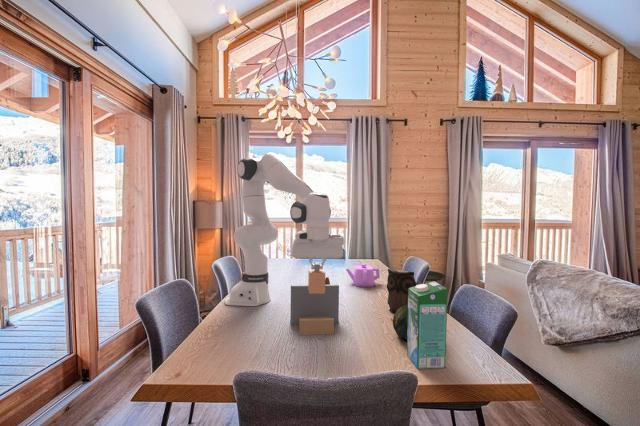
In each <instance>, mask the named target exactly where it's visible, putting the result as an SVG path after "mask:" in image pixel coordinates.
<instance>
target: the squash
mask: <svg viewBox="0 0 640 426" xmlns="http://www.w3.org/2000/svg"><path fill="white" fill-rule="evenodd" d="M392 326H393V327H392V328H393V329H394V331H395V334H396V335H397V336H398V337H399V338H400V339H403V340H404V339H405V340H407V332H408V305H405V306H402V307H401V308H399V309H398V310H397V311H396V313H395V314H394V315H393V317H392Z"/></svg>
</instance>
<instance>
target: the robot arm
mask: <svg viewBox="0 0 640 426" xmlns="http://www.w3.org/2000/svg"><path fill="white" fill-rule="evenodd" d="M236 170H237V174H238V177H239V178H240V179H241V180H242V190H241V191H242V193H241V195H242V197H241V198H242V206H243V207H242V208H243V213H244V215H245V216H247V217H248V218H249V220H250V222H251V224H244V225H241V226H238V227H237V228H236V229H235V231H234V232H233V240H234V243H235V244H236V245H237V246H238V247H239V248H240V249H241V251H242V253H243V255H244V260H245V261H244V262H245V267H244V268H245V269H244V270H245V271H243V272H241V275H240V276H241V277H240V278H241V280H240V281H239V282H238V283H236V284H235V285H234V286H232V288H231V289H230V292H229V296H228V295H227V297H226V298H225V300H224V304H225V306H235V307H236V306H243V307H257V306H259V305H260V306H261V305H264V304H267V303H269V302H270V301H271V295H270V290H269V282H270V280H269V279H270V278H269V276H270V275H269V271H268V265H269V263H268V256H267V255H266V254H264V253H263V250H262V246H263V245H264V246H265V245H268V244H271V243H273V242H276V240H277V239H278V235H279V231H278V228H277V227H276V226H275V224H273V223H272V221H271V220H270V218H269V215H268V213H267V212H268V211H267V207H266V205H267V204H266V197H265V196H266V195H265V188H264V187H265V184H266V183H267V184H269V185H270V186H271V187H272V188H274V189H275V190H277V191H281V192H286V193H290V194H293V195H296V196H297V197H299V198H300V200H296V201H294V202H293V203H292V205H291V207H290V211H289V214H290V218H291V220H292V221H293V222H294V224H298V225H306V229H303V230H300V231H296V232H295V235H294V237H295V239H294V240H293V243H292V247H291V256H292V258H293V259H308V262H309V264H310V267H311V268H310V269H315V264H314V262H312V261H313V259H321V260H322V261H321V263H319V264H320V269H324V265H325V263H326V261H327V259H342V258H343V256H344V251H343V250H344V249H343V246H344V243H345V237H343V236H342V235H341V234H334V233H333V234H330V223H329V221H330V218H331V214H332V210H331V207H330V206H331V205H330V198H329V196H328V195H327V194H324V193H322V192H315V191H314V190H312V188H311V187H310V186H309V185H308V184H307V183H306V182H305V181H303V180H302V179H301V178H300V177H299V176H297V175H296V174H295V173H294V172H293V171H292V170H291V169H290V168H289V166H288V165H287V164H286V163H285V161H283V158H281V157H280V156H279V155H277V154H276V153H274V152H268V153H265V154H263V155H262V157H260V158H258V157H257V158H255V157H253V158H251V157H247V158H246V157H245V158H242V159H240V160H239V162H238V164H237V167H236Z"/></svg>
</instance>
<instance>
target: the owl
mask: <svg viewBox="0 0 640 426" xmlns="http://www.w3.org/2000/svg"><path fill="white" fill-rule="evenodd" d="M387 271H388V272H387V273H388V275H387V284H386V289H387V291H388V295H387V305H388V306H389V310H388V312H389V313H391V314H394V315H395V313H396V311H397V310H398V309H399V308H401V307H402V306H405V305H408V289H409V288H411V287H415V286H416V285H418V284H417V282H416V281H417V280H416V278H415V272H414V271H408V270H401V269H391V268H388V269H387Z"/></svg>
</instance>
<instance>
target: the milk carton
mask: <svg viewBox="0 0 640 426" xmlns="http://www.w3.org/2000/svg"><path fill="white" fill-rule="evenodd" d="M447 318H448V288H447V287H445V286H443V285H442V284H440V283H439V282H436V281H435V280H434V281H430V282H426V283H418V284H417V285H416V286H415V287H411V288H409V289H408V332H407V343H406V346H407V347H406V356H407V357H408V358H409V359H410V361H411V362H412V364H413V365H414V366H415V368H416V369H418V370H421V369H422V370H423V369H424V370H425V369H427V370H428V369H445V368H446V359H447V358H446V357H447V354H446V353H447V321H448V319H447Z"/></svg>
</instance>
